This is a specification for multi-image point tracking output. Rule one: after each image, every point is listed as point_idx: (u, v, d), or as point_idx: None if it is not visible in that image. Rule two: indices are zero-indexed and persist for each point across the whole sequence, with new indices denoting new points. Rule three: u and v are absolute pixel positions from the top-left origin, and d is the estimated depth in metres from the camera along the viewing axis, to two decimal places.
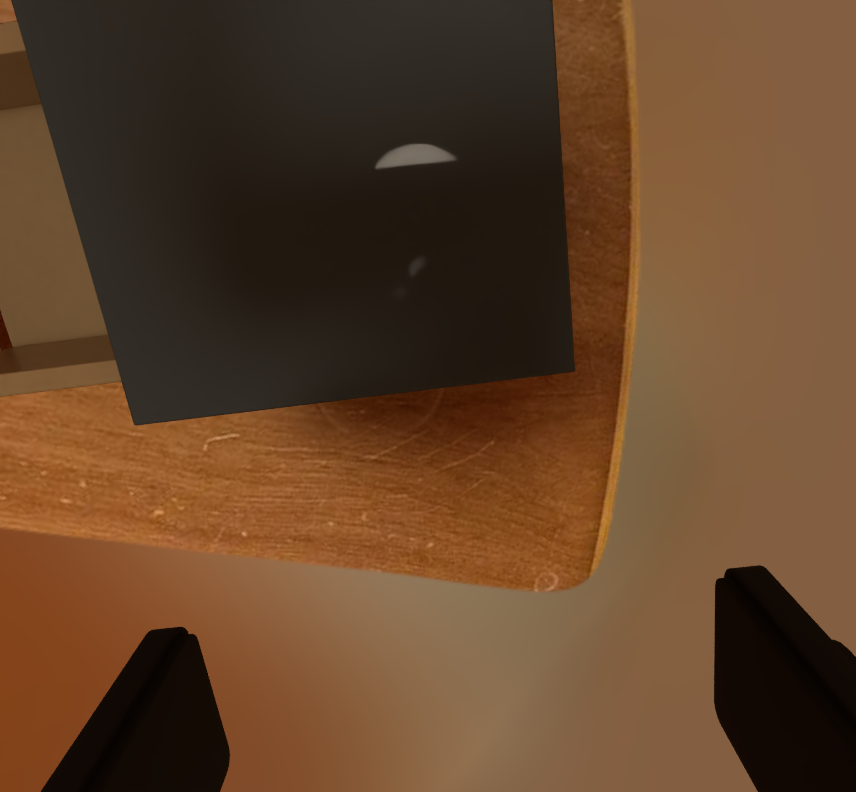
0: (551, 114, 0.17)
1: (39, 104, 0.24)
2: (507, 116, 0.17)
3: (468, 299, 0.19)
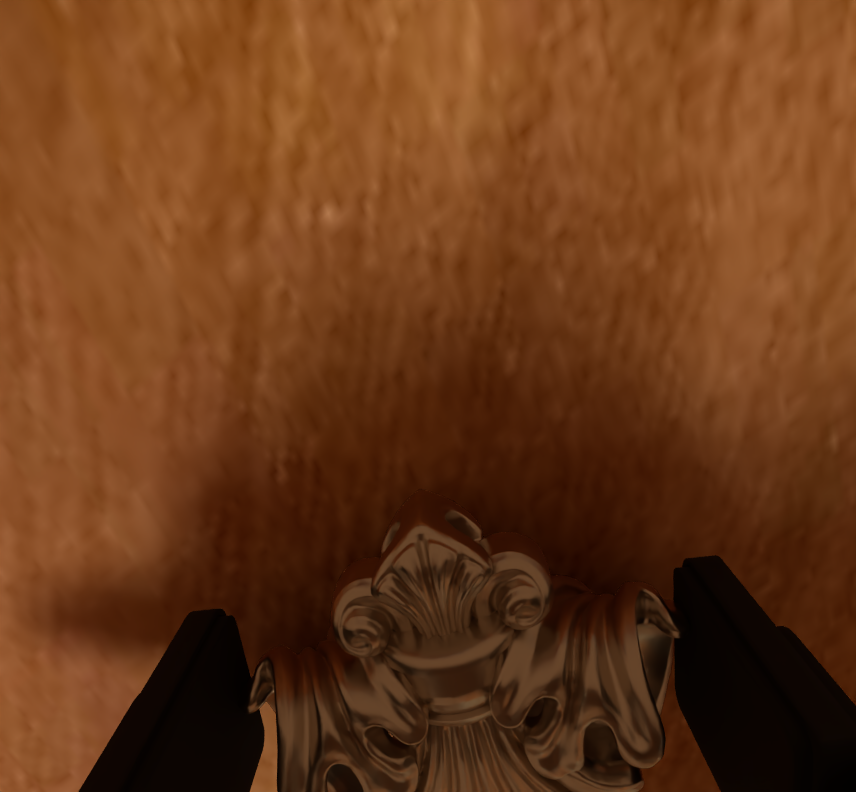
0: None
1: None
2: None
3: None
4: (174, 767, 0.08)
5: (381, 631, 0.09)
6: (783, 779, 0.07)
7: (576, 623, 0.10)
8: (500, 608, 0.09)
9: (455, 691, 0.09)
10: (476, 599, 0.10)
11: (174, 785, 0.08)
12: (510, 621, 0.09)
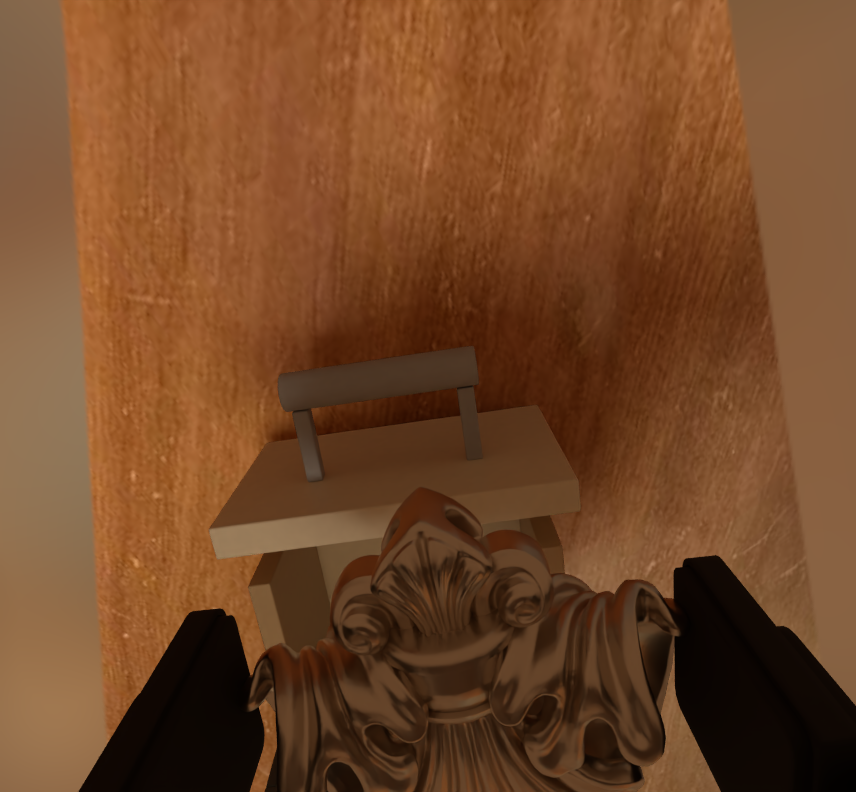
0: None
1: None
2: None
3: None
4: (174, 767, 0.08)
5: (381, 629, 0.09)
6: (783, 779, 0.07)
7: (576, 621, 0.10)
8: (500, 606, 0.09)
9: (456, 690, 0.09)
10: (476, 597, 0.09)
11: (174, 785, 0.08)
12: (510, 619, 0.09)
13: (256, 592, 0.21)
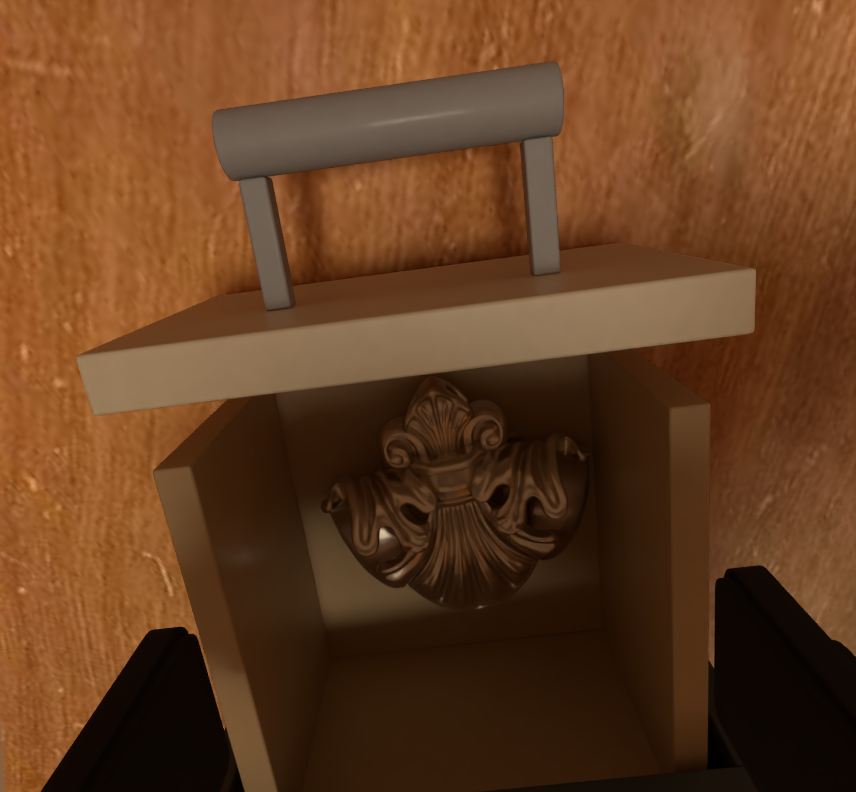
0: None
1: (593, 475, 0.19)
2: None
3: None
4: None
5: (409, 452, 0.16)
6: None
7: (522, 451, 0.17)
8: (477, 437, 0.16)
9: (452, 483, 0.16)
10: (464, 434, 0.16)
11: None
12: (483, 443, 0.16)
13: (167, 482, 0.12)
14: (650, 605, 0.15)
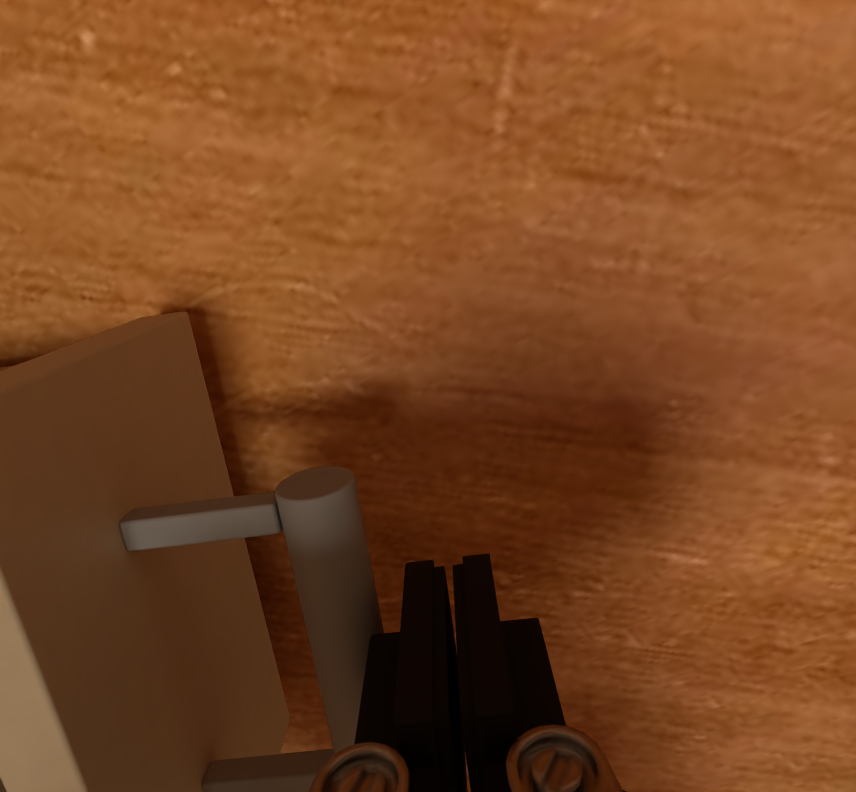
0: None
1: None
2: None
3: None
4: (450, 693, 0.09)
5: None
6: None
7: None
8: None
9: None
10: None
11: (451, 710, 0.09)
12: None
13: None
14: None
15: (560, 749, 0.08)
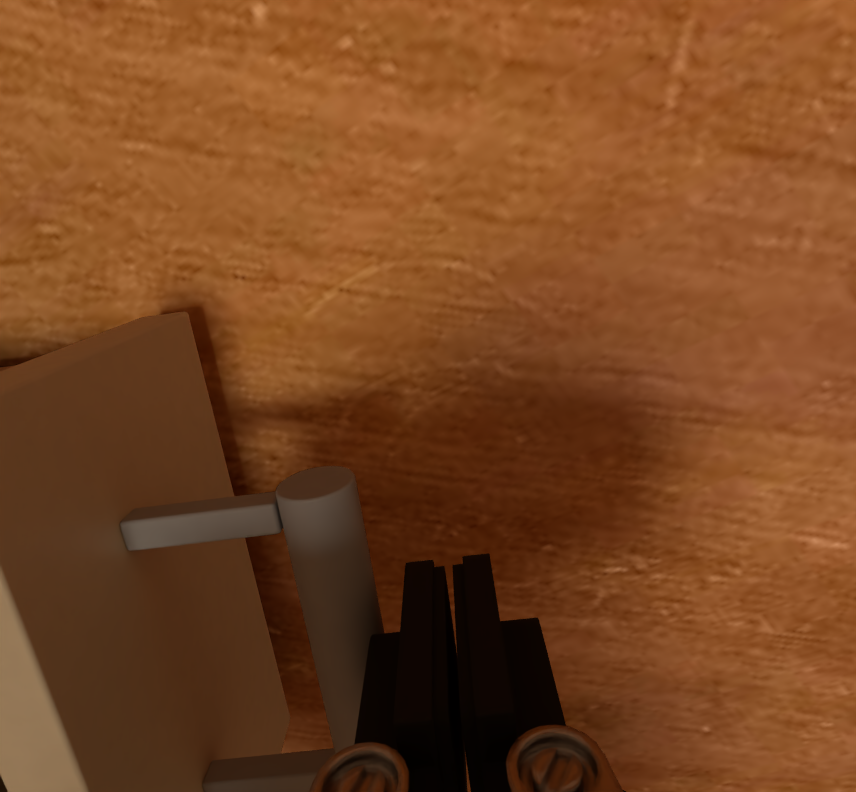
0: None
1: None
2: None
3: None
4: (450, 693, 0.09)
5: None
6: None
7: None
8: None
9: None
10: None
11: (451, 710, 0.09)
12: None
13: None
14: None
15: (560, 749, 0.08)
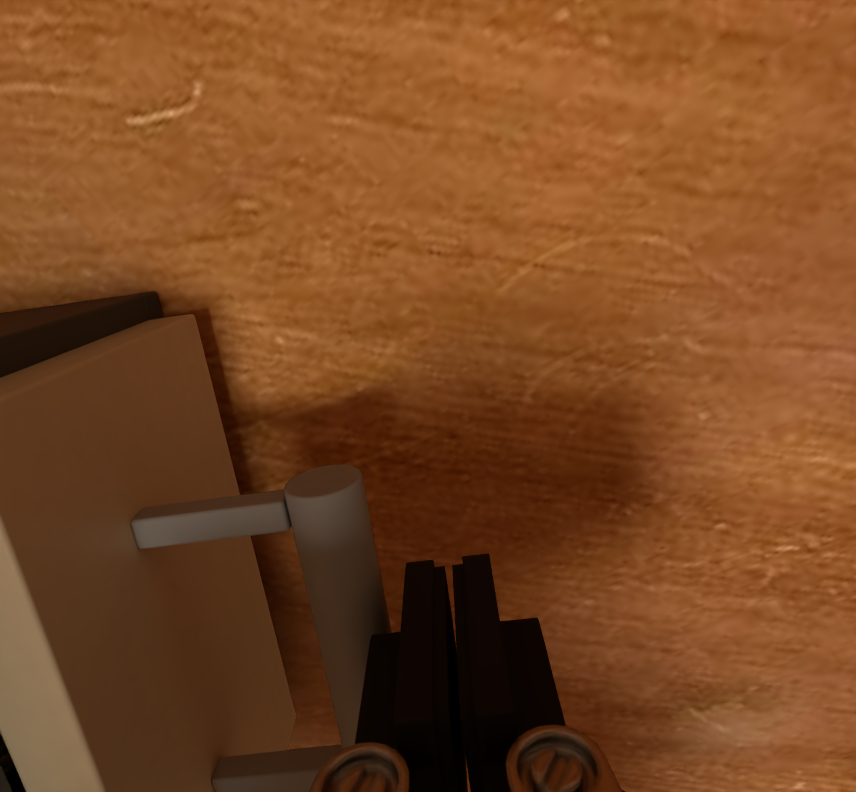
0: None
1: None
2: None
3: None
4: (450, 693, 0.09)
5: None
6: None
7: None
8: None
9: None
10: None
11: (452, 710, 0.09)
12: None
13: None
14: None
15: (560, 749, 0.08)
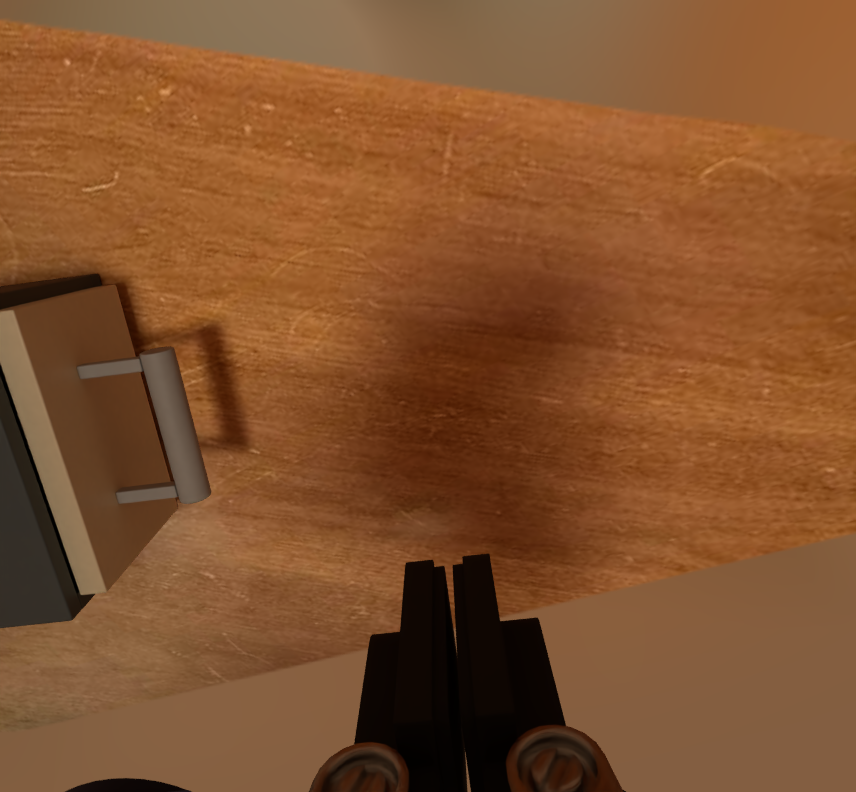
0: None
1: None
2: None
3: None
4: (450, 693, 0.09)
5: (20, 422, 0.29)
6: None
7: None
8: None
9: None
10: None
11: (451, 710, 0.09)
12: (32, 462, 0.29)
13: None
14: None
15: (560, 749, 0.08)
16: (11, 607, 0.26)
